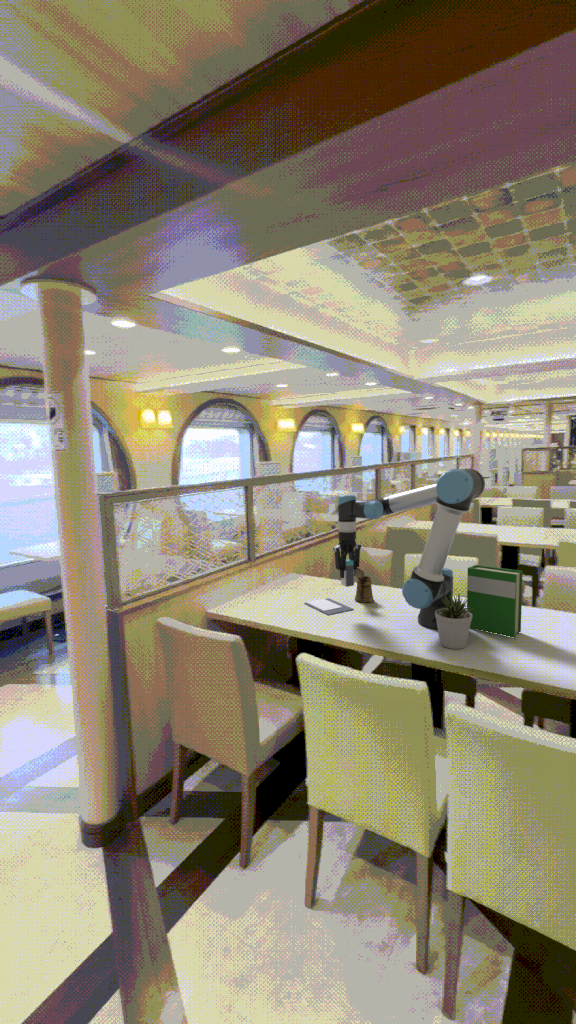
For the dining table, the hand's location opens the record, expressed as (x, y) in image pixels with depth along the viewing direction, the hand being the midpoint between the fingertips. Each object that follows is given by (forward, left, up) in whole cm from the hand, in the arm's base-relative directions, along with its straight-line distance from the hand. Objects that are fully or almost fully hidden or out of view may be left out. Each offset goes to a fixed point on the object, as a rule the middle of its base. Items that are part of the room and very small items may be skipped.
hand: (347, 584), depth 196 cm
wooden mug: (+12, -17, -14) cm, 25 cm away
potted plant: (-47, -11, -14) cm, 50 cm away
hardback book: (-45, -36, -14) cm, 59 cm away
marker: (0, 0, 0) cm, 0 cm away
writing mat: (+14, +1, -13) cm, 19 cm away
